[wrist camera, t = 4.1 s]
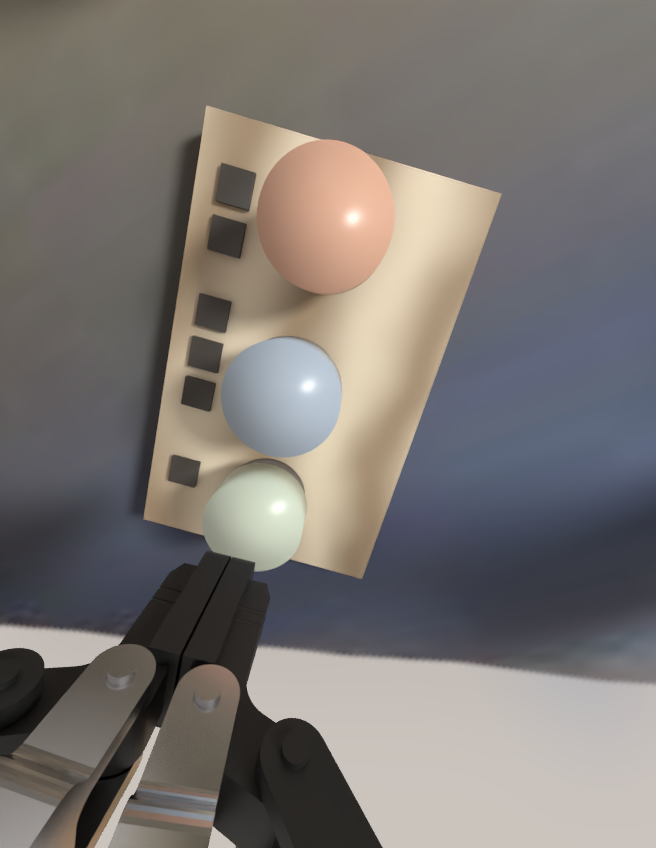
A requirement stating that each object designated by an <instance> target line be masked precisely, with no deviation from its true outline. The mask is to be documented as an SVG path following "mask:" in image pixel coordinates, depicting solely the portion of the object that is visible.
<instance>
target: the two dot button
mask: <svg viewBox="0 0 656 848" xmlns="http://www.w3.org/2000/svg"><path fill="white" fill-rule="evenodd" d="M394 220H395V219H394V203H393V197H392V193H391V190H390V187H389V184H388V182H387V180H386V178H385V176H384V174H383V172H382V171H381V169H380V168H379V167H378V165H377V164H376V163H375V162H374V161H373V160H372V159H371V158H370V157H369V156H368V155H367V154H366V153H364V152H363V151H362V150H360V149H358V148H356V147H355V146H353V145H350V144H348V143H345V142H341V141H336V140H316V141H312V142H308V143H305V144H302V145H300V146H298V147H296V148H294V149H293V150H291V151H289V152H288V153H287V154H286V155H284V156H283V157H282V158H281V159H280V160H279V161H278V162H277V163H276V164H275V165H274V167H273V168H272V170H271V171H270V172H269V174H268V176H267V178H266V180H265V181H264V184H263V186H262V189H261V192H260V196H259V200H258V206H257V228H258V234H259V239H260V242H261V245H262V248H263V250H264V252H265V254H266V256H267V258H268V260H269V261H270V263H271V264H272V266H273V267H274V268H275V269H276V270H277V272H278V273H279V274H280V275H282V276H283V277H284V278H285V279H286V280H288V281H289V282H290V283H292V284H294V285H296V286H298V287H299V288H302V289H304V290H307V291H310V292H312V293H316V294H321V295H336V294H341V293H345V292H348V291H350V290H352V289H354V288H356V287H358V286H359V285H361V284H362V283H364V282H365V281H366V280H367V279H368V278H369V277H370V276H371V275H372V274H373V273H374V271H375V270H376V268H377V267H378V265H379V264H380V262H381V261H382V259H383V257H384V255H385V253H386V251H387V249H388V247H389V244H390V241H391V238H392V234H393V229H394Z"/></svg>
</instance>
